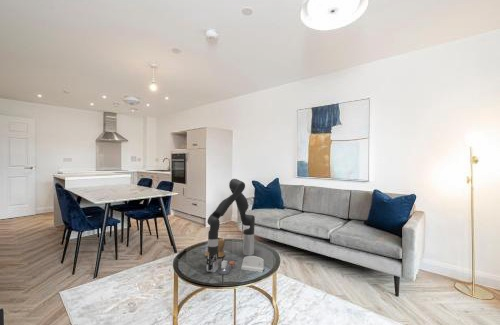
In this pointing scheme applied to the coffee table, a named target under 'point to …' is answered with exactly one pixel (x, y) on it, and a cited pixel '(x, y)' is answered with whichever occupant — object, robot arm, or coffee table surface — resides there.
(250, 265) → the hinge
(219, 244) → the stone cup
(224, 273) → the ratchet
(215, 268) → the socket
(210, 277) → the coffee table surface
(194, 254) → the coffee table surface
